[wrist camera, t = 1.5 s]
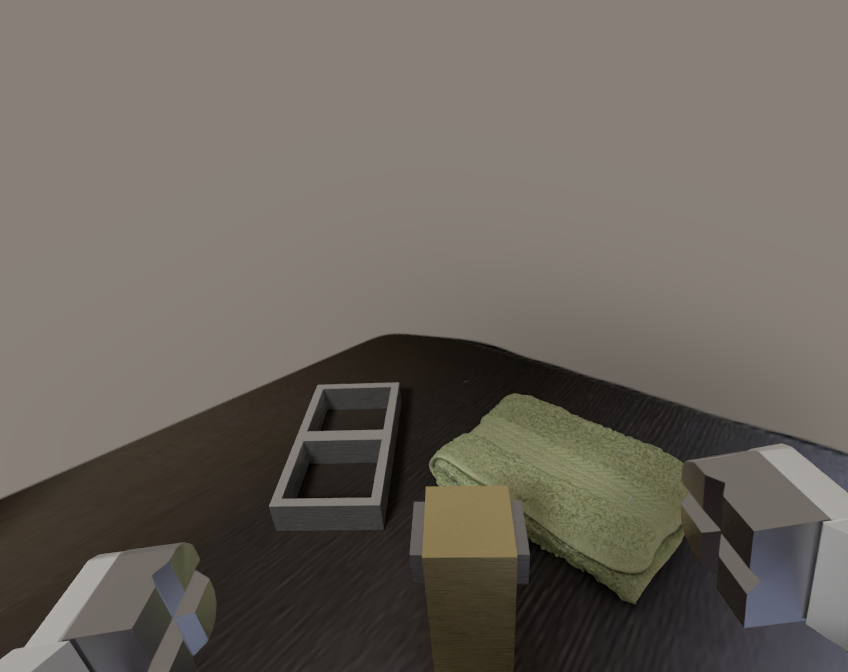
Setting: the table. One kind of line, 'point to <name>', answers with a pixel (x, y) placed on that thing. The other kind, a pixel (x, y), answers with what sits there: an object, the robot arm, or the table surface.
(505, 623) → the pale yellow rectangular block
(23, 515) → the table surface
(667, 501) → the washcloth
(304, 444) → the rack frame
